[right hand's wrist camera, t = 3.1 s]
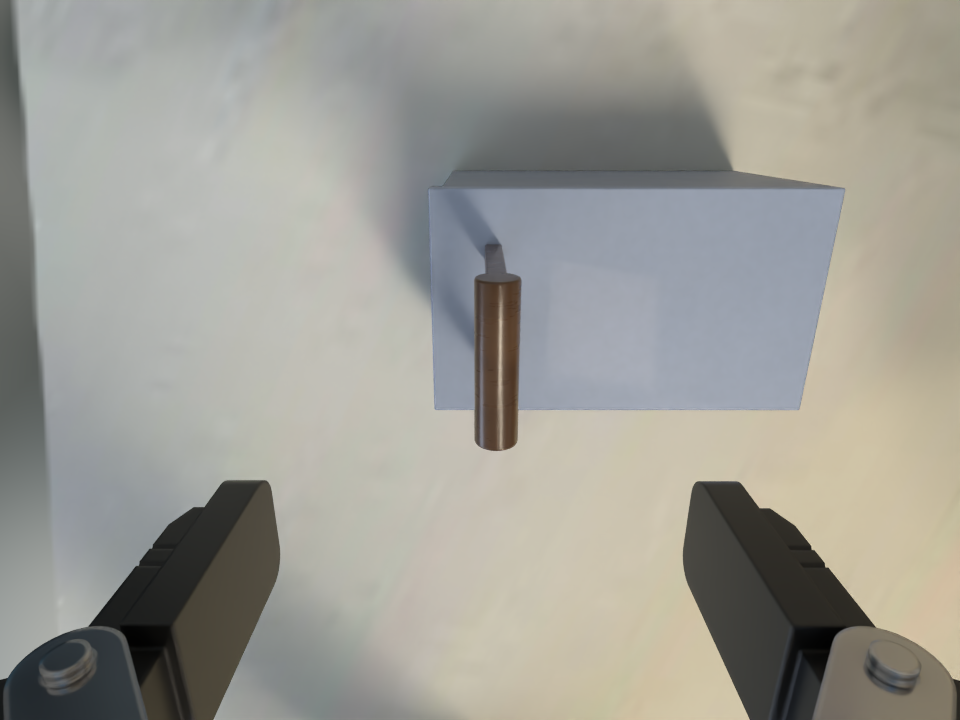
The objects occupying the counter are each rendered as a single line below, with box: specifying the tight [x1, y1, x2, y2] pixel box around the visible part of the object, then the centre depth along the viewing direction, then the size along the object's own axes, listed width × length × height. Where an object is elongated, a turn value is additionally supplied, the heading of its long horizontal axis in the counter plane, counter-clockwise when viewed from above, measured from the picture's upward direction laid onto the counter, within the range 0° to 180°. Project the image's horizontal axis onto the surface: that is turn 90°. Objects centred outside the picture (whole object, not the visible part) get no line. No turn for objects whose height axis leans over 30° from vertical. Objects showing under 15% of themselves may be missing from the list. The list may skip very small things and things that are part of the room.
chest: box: [443, 171, 827, 186], centre depth 31 cm, size 16×10×10 cm, turn 90°
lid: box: [428, 186, 845, 451], centre depth 22 cm, size 16×10×8 cm, turn 90°
